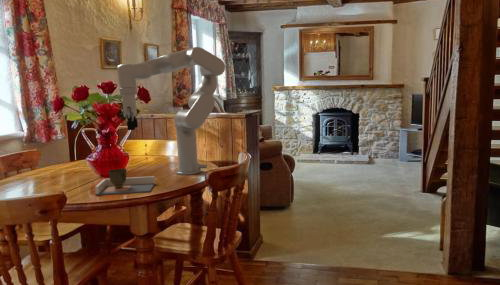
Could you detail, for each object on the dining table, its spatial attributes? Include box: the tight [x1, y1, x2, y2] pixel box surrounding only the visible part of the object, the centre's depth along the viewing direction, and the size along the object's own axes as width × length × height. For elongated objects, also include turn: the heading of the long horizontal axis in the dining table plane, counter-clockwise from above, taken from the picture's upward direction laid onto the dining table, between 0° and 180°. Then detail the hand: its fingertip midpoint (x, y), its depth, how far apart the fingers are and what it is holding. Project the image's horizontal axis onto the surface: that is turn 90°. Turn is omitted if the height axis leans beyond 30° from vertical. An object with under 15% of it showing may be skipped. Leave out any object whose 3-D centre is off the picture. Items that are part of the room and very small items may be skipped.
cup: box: [107, 168, 127, 188], centre depth 186 cm, size 8×7×8 cm
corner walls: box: [94, 175, 156, 195], centre depth 185 cm, size 22×15×3 cm
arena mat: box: [95, 183, 156, 196], centre depth 186 cm, size 22×15×1 cm
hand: (132, 128), depth 200 cm, fingers open, 9 cm apart
